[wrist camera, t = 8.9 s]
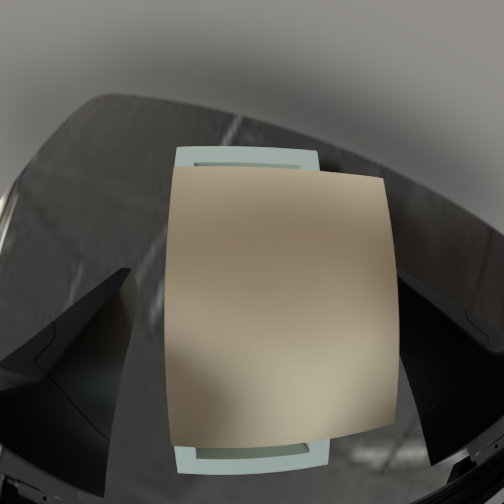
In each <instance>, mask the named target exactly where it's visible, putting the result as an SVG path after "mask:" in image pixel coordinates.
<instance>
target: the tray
mask: <svg viewBox="0 0 504 504" xmlns="http://www.w3.org/2000/svg"><path fill="white" fill-rule="evenodd" d="M180 166H236V167H266V168H285V169H300V170H313V171H320V168H319V161H318V154H317V151H310V150H299V149H285V148H267V147H238V146H195V147H177V151H176V159H175V167H180ZM329 444H330V439H326V440H320V441H313V442H306V443H299V444H290V445H281V446H269V447H252V448H197V447H180V446H174V448H175V456H176V463H177V470H178V473H188V474H214V475H230V474H256V473H269V472H279V471H288V470H296V469H302V468H309V467H315V466H320V465H325V464H328V457H329Z"/></svg>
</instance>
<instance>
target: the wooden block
mask: <svg viewBox="0 0 504 504" xmlns="http://www.w3.org/2000/svg"><path fill="white" fill-rule="evenodd" d="M165 365H166V386H167V402H168V415H169V426H170V436H171V445H172V446H180V447H197V448H252V447H269V446H281V445H290V444H299V443H306V442H313V441H320V440H326V439H331V438H337V437H342V436H346V435H351V434H356V433H360V432H364V431H368V430H372V429H376V428H380V427H383V426H387V425H390V424H393V423H394V419H395V410H396V400H397V387H398V369H399V305H398V287H397V273H396V262H395V253H394V244H393V236H392V229H391V222H390V216H389V209H388V204H387V198H386V193H385V187H384V182H383V178H377V177H369V176H361V175H353V174H344V173H334V172H324V171H313V170H300V169H285V168H266V167H236V166H180V167H174V171H173V180H172V189H171V199H170V210H169V222H168V236H167V252H166V274H165Z"/></svg>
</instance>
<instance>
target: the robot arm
mask: <svg viewBox="0 0 504 504" xmlns="http://www.w3.org/2000/svg"><path fill="white" fill-rule="evenodd" d="M396 273H397V287H398V305H399V354H400V357H401V360H402V363H403V366H404V369H405V372H406V375H407V378H408V381H409V384H410V387H411V390H412V394H413V397H414V400H415V404H416V407H417V411H418V414H419V417H420V422H421V426H422V430H423V434H424V438H425V442H426V447H427V451H428V456H429V460H430V464H431V466H433V465H435V464H437V463H439V462H441V461H443V460H445V459H447V458H449V457H451V456H453V455H454V454H456V453H458V452H460V451H461V450H463V449H465V448H467V451H468V453H469V456H468V457H466V458H464V459H463V460H461V461H459V462H458V463H456V464H454V465H453V468H452V471H451V473H450V476H449V479H448V481H447V484H446V485H445V486H443V487H441V488H440V489H438V490H436V491H434V492H432V493H430V494H428V495H426V496H424V497H422V498H420V499H418V500H416V501H414V502H412V503H410V504H504V333H503V332H502V331H500V330H498V329H497V328H495V327H493V326H491V325H490V324H488V323H486V322H485V321H483V320H481V319H480V318H478V317H477V316H475V315H473V314H472V313H470V312H469V311H467V310H466V309H464V308H463V307H461V306H459V305H458V304H456V303H455V302H453V301H451V300H450V299H448V298H447V297H445V296H443V295H442V294H440V293H439V292H437V291H435V290H434V289H432V288H430V287H429V286H427V285H425V284H424V283H422V282H420V281H419V280H417V279H415V278H414V277H412V276H410V275H409V274H407V273H405V272H403V271H402V270H400V269H398V268H396ZM137 296H138V286H137V282H136V278H135V274H134V271H133V269H132V268H121V269H119V270H118V271H117V272H115V273H114V274H113V275H111V276H110V277H109V278H107V279H106V280H105V281H103V282H102V283H101V284H99V285H98V286H97V287H95V288H94V289H93V290H91V291H90V292H89V293H87V294H86V295H85V296H84V297H82V298H81V299H80V300H78V301H77V302H76V303H75V304H73V305H72V306H71V307H70V308H68V309H67V310H66V311H65V312H63V313H62V314H61V315H60V316H58V317H57V318H56V319H55V320H54V321H52V322H51V323H50V324H49V325H47V326H46V327H45V328H44V329H42V330H41V331H40V332H39V333H37V334H36V335H35V336H34V337H32V338H31V339H30V340H28V341H27V342H26V343H24V344H23V345H21V346H20V347H19V348H17V349H16V350H15V351H13V352H12V353H11V354H9V355H8V356H7V357H5V358H4V359H3V360H1V361H0V504H77V497H78V491H81V492H84V493H87V494H90V495H94V496H97V497H101V498H104V492H105V480H106V469H107V460H108V452H109V445H110V442H109V441H110V437H111V430H112V424H113V418H114V412H115V406H116V401H117V396H118V390H119V386H120V381H121V376H122V371H123V367H124V363H125V358H126V354H127V350H128V346H129V342H130V338H131V334H132V328H133V322H134V315H135V308H136V302H137Z"/></svg>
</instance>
